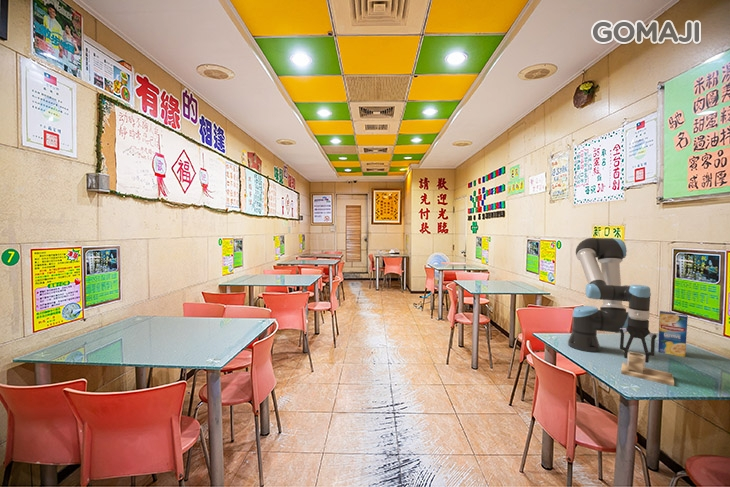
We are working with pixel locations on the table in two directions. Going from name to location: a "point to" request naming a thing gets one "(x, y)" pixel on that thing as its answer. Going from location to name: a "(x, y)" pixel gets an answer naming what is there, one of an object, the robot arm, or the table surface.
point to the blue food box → (672, 333)
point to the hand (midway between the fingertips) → (635, 366)
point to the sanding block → (636, 362)
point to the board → (650, 375)
